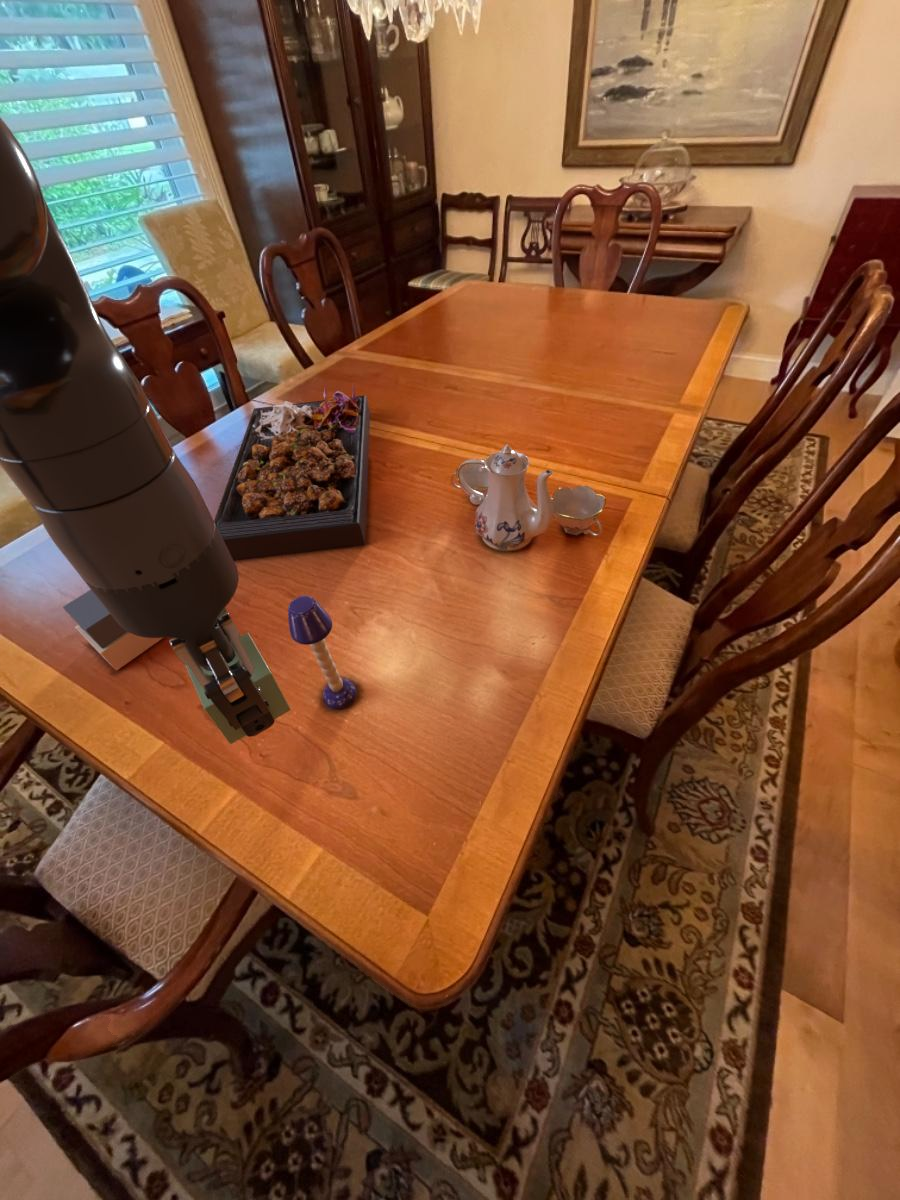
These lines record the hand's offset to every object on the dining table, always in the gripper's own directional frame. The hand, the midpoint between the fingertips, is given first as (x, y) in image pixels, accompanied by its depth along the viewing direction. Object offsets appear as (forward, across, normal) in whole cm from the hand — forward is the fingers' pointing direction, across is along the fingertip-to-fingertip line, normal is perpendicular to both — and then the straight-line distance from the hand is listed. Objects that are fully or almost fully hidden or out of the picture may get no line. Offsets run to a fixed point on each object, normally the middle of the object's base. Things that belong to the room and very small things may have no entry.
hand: (248, 702), depth 43 cm
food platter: (+21, -61, +26) cm, 70 cm away
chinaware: (+21, -24, +48) cm, 57 cm away
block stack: (+21, -40, -12) cm, 47 cm away
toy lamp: (+21, -12, +9) cm, 26 cm away
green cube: (0, 0, 0) cm, 0 cm away
